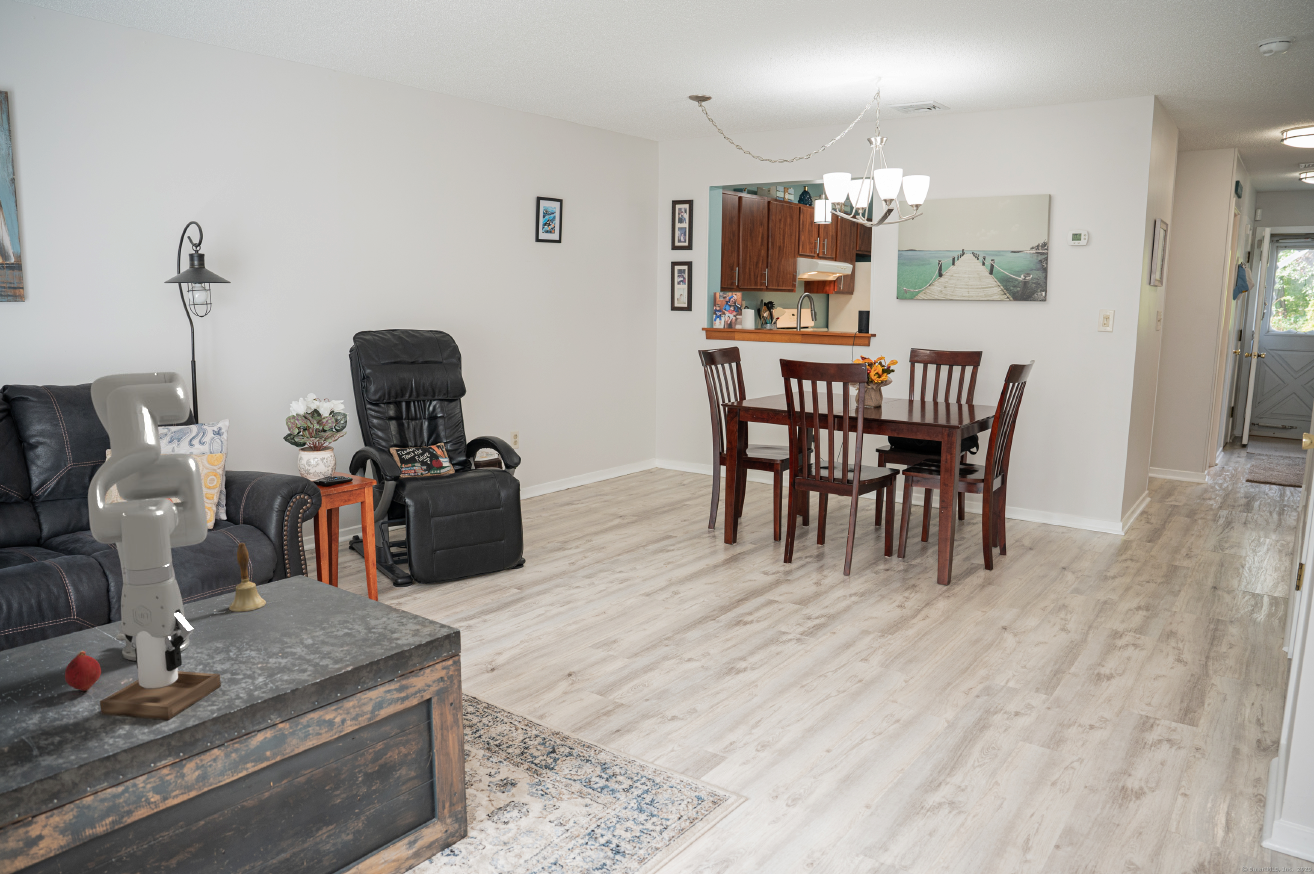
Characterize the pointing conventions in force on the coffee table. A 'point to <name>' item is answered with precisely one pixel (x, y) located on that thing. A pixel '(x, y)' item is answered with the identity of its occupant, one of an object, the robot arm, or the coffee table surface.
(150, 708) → the tray
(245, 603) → the hand bell
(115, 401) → the robot arm
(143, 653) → the can
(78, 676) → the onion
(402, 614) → the coffee table surface
